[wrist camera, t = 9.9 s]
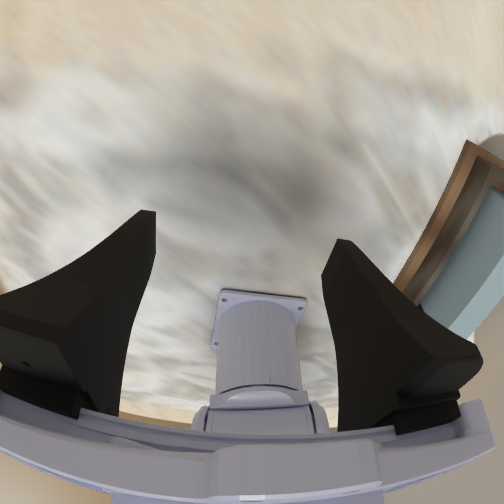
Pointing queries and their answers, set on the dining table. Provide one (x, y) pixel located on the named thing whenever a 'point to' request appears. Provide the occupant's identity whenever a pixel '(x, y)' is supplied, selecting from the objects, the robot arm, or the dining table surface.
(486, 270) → the pale blue bar
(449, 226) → the cradle
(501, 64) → the dining table surface
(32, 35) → the dining table surface
